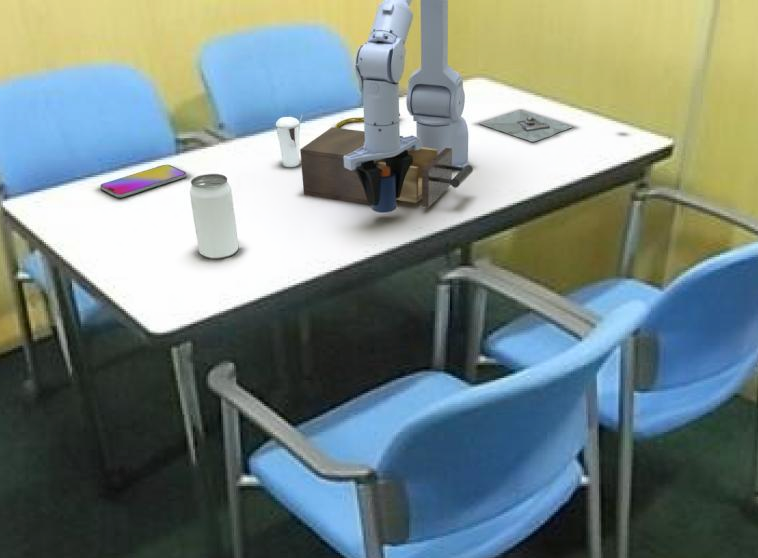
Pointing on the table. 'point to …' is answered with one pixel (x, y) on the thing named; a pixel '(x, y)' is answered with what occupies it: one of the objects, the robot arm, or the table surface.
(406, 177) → the drawer
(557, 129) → the mousepad
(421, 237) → the table surface
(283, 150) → the milkshake
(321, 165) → the cabinet
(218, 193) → the can
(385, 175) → the glue bottle
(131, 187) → the smartphone
